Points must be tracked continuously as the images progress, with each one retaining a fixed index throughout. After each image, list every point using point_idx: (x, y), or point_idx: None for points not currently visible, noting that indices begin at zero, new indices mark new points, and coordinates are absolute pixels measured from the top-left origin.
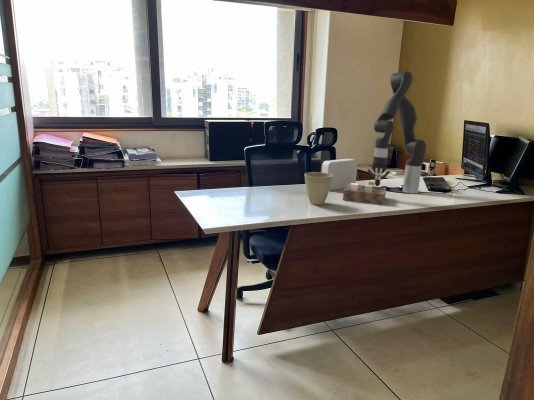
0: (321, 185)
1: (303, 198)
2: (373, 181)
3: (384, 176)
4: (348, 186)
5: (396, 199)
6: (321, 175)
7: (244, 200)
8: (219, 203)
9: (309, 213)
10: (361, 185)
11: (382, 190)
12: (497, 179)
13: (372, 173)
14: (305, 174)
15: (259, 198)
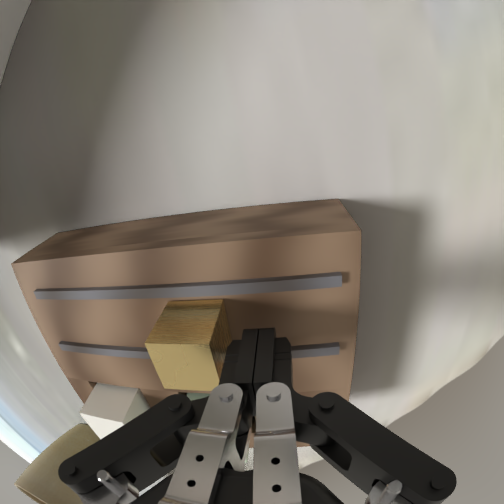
0: None
1: (34, 396)
2: (196, 345)
3: (348, 458)
4: (59, 351)
5: (426, 206)
6: (35, 485)
7: (10, 427)
8: (16, 444)
9: (149, 489)
10: (100, 298)
11: (326, 368)
12: None
13: (152, 458)
14: (30, 495)
15: (4, 412)
